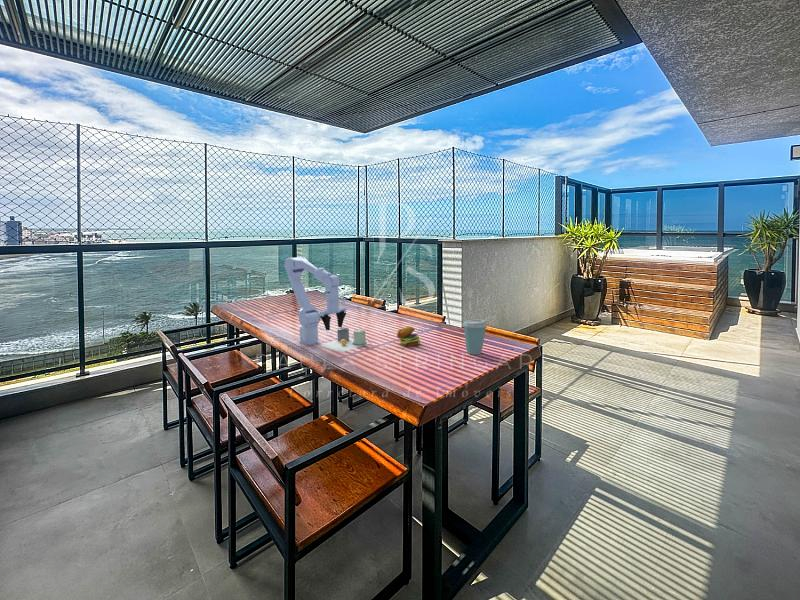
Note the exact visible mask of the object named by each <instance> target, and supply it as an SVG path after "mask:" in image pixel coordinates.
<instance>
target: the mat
mask: <svg viewBox="0 0 800 600" xmlns="http://www.w3.org/2000/svg"><path fill="white" fill-rule="evenodd" d="M353 342H354V338H351V337H349V341H347V343H346V345H342V344H341V342H340V341H338V339H336V340H331V341H328V342H325V343H322V344H318V345H317V346H318V347H321V348H325V349H326V348H327V349H328V350H329V349H330V350H332V351H336V352H339V353H345V352H348V351H351V350H353V349H358V348H361V347H363V346H367V345H369V344H371V342H369V341H366V342H367V344H365V345H353Z"/></svg>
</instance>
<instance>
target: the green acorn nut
mask: <svg viewBox="0 0 800 600" xmlns="http://www.w3.org/2000/svg"><path fill="white" fill-rule="evenodd" d="M353 339H354V344H357V345H358V344H365V343H366V342H367V341H366V339H367V338H366V330H365V329H357V330H353Z"/></svg>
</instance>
